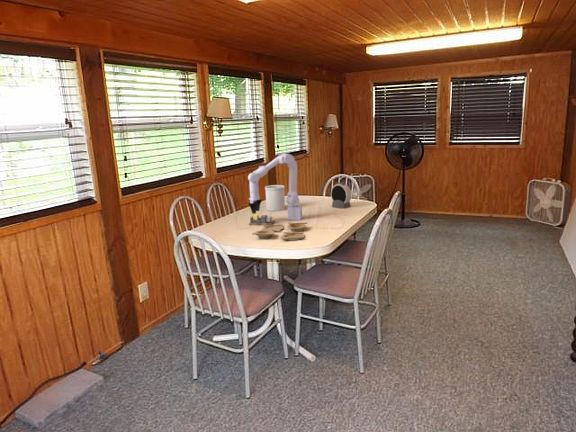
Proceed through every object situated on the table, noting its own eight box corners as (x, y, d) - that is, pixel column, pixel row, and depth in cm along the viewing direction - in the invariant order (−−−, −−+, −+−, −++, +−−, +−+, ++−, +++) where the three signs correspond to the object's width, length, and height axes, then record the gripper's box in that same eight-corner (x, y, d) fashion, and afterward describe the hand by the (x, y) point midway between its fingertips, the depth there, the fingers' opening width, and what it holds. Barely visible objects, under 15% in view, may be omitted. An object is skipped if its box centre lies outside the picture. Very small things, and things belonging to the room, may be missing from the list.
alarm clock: (328, 206, 318) (327, 182, 314) (337, 204, 325) (337, 180, 321) (345, 209, 307) (344, 184, 303) (353, 206, 313) (353, 182, 309)
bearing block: (267, 221, 277) (267, 215, 276) (265, 223, 272) (264, 217, 271) (263, 220, 278) (262, 215, 277) (260, 223, 272) (260, 217, 271)
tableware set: (302, 242, 230) (301, 235, 229) (250, 242, 235) (249, 235, 234) (310, 226, 263) (309, 220, 262) (264, 226, 269) (264, 220, 268)
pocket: (263, 220, 278) (263, 215, 278) (260, 223, 272) (260, 218, 271) (253, 220, 280) (253, 215, 279) (250, 223, 273) (250, 217, 273)
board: (275, 221, 278) (275, 220, 278) (271, 225, 269) (271, 223, 269) (253, 221, 282) (253, 220, 281) (249, 225, 272) (249, 223, 272)
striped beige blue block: (272, 221, 275) (272, 216, 274) (271, 222, 272) (271, 217, 271) (262, 221, 276) (262, 216, 276) (261, 222, 274) (260, 217, 273)
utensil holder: (287, 207, 323) (286, 184, 319) (283, 211, 309) (282, 187, 305) (268, 207, 326) (267, 185, 322) (264, 211, 312) (262, 188, 308)
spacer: (259, 221, 278) (258, 214, 277) (257, 222, 274) (257, 216, 273) (255, 221, 278) (254, 214, 277) (253, 222, 274) (252, 215, 273)
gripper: (251, 189, 279) (253, 209, 282) (244, 193, 266) (246, 214, 269) (262, 189, 278) (263, 209, 281) (255, 193, 264) (257, 214, 267)
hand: (255, 212), depth 275 cm, fingers open, 7 cm apart
